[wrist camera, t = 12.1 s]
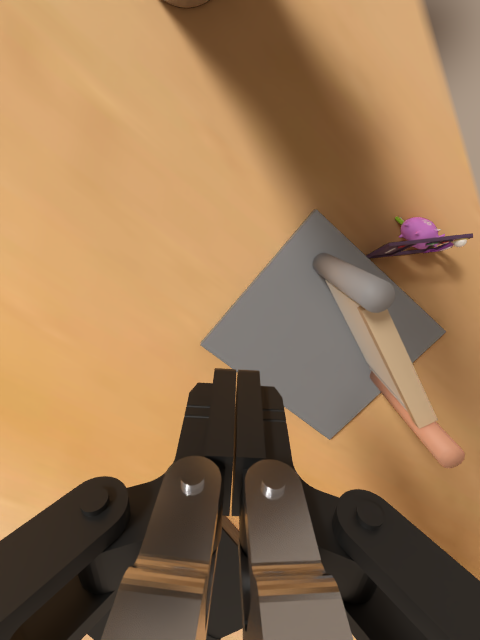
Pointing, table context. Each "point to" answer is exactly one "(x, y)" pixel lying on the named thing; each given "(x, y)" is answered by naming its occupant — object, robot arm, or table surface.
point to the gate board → (323, 333)
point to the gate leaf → (386, 356)
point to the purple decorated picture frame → (419, 239)
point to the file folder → (215, 590)
